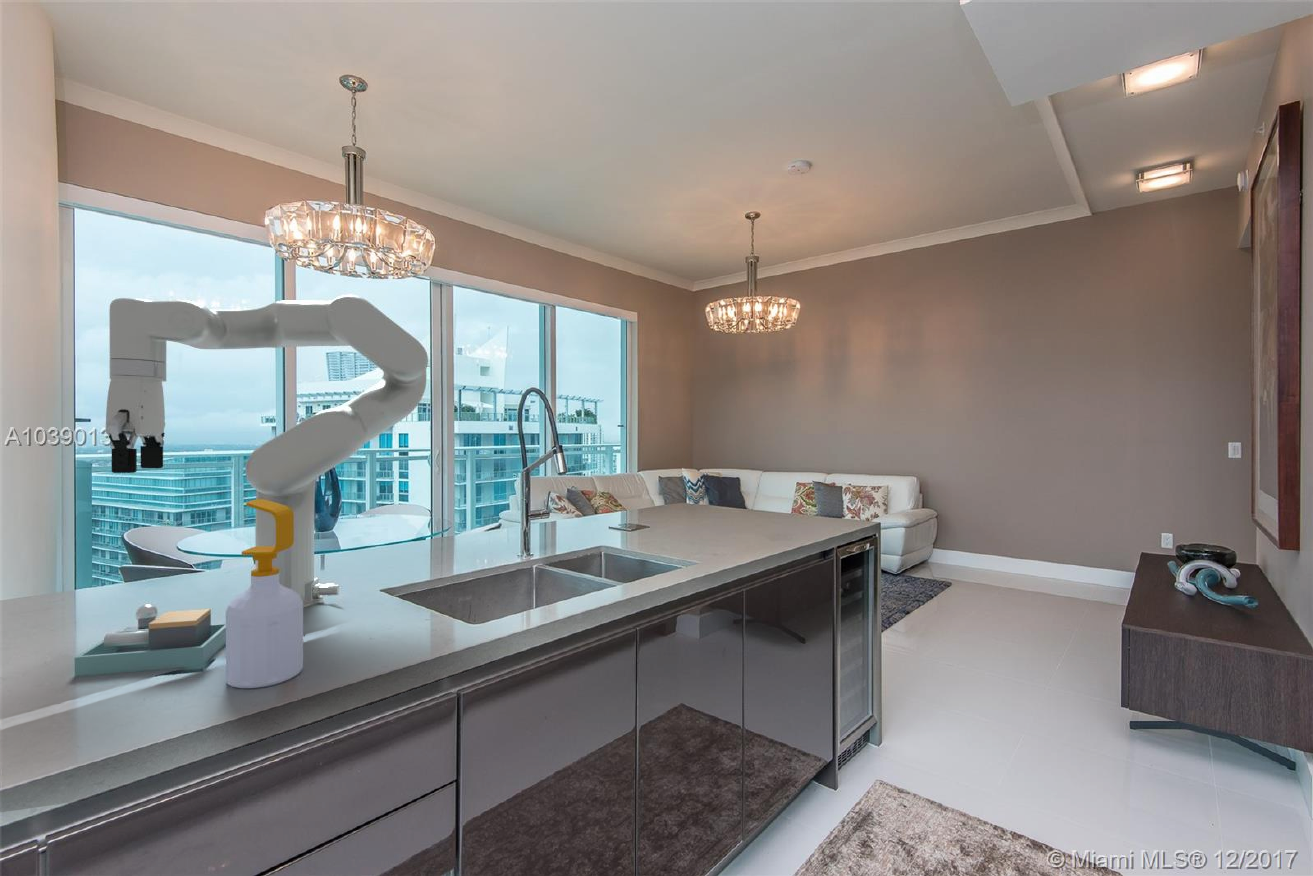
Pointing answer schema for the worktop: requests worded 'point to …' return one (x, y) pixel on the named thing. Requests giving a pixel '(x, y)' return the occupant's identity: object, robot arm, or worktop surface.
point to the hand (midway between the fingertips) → (138, 470)
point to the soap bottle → (265, 616)
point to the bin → (150, 656)
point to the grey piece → (144, 617)
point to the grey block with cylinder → (168, 631)
